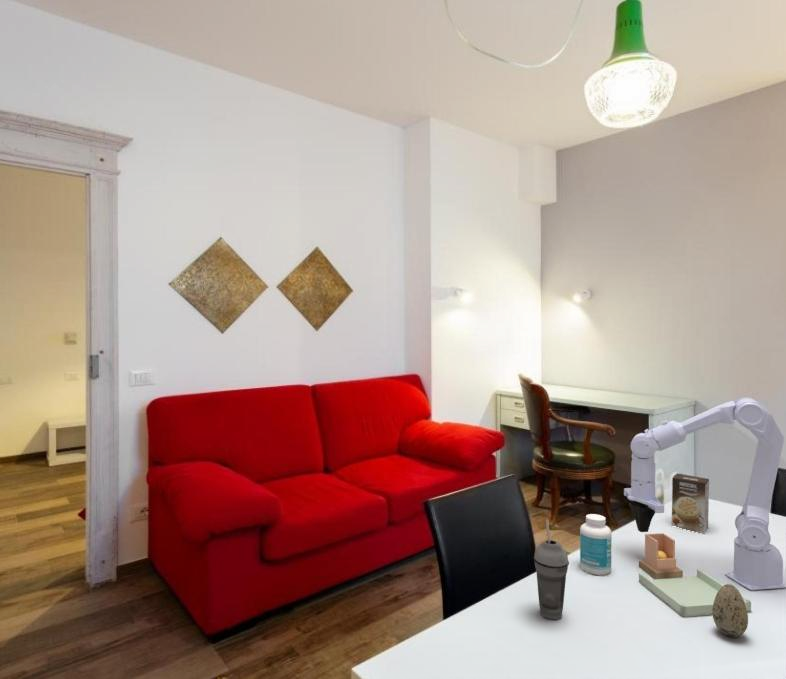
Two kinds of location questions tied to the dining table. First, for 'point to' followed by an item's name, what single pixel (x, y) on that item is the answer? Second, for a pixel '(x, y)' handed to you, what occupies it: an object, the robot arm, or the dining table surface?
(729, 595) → the decorative egg
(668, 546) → the brown u-shaped block
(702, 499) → the coffee box
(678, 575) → the coaster
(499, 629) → the dining table surface
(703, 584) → the tray
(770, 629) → the dining table surface
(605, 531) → the pill bottle
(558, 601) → the beverage cup
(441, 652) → the dining table surface
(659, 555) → the ball
